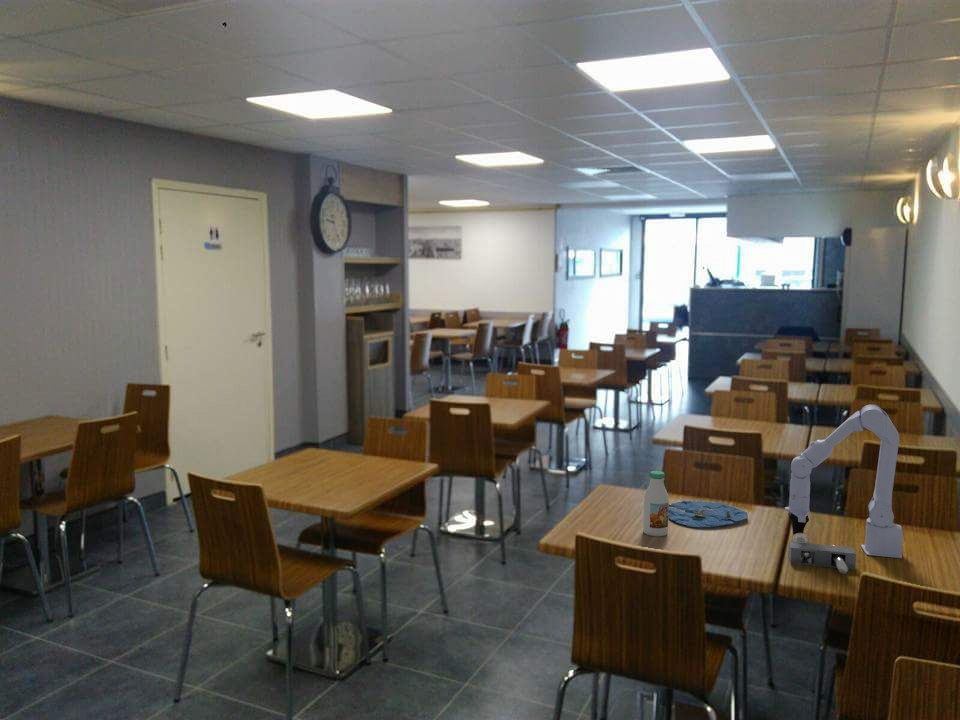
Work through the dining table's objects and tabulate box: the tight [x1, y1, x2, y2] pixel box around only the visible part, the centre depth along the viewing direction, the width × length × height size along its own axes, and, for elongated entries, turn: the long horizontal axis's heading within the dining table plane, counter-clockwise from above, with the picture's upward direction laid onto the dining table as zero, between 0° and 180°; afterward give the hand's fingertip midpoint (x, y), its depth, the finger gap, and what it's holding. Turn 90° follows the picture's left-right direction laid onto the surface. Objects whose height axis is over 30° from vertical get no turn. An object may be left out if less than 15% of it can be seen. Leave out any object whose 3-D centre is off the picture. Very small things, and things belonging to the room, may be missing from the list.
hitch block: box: [787, 541, 857, 571], centre depth 214 cm, size 17×5×5 cm, turn 74°
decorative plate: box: [668, 500, 749, 529], centre depth 256 cm, size 30×30×5 cm
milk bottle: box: [642, 470, 670, 537], centre depth 238 cm, size 8×8×20 cm
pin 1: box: [792, 532, 812, 559], centre depth 220 cm, size 13×4×4 cm, turn 165°
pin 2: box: [830, 544, 849, 574], centre depth 210 cm, size 13×4×4 cm, turn 164°
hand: (797, 537), depth 232 cm, fingers closed
